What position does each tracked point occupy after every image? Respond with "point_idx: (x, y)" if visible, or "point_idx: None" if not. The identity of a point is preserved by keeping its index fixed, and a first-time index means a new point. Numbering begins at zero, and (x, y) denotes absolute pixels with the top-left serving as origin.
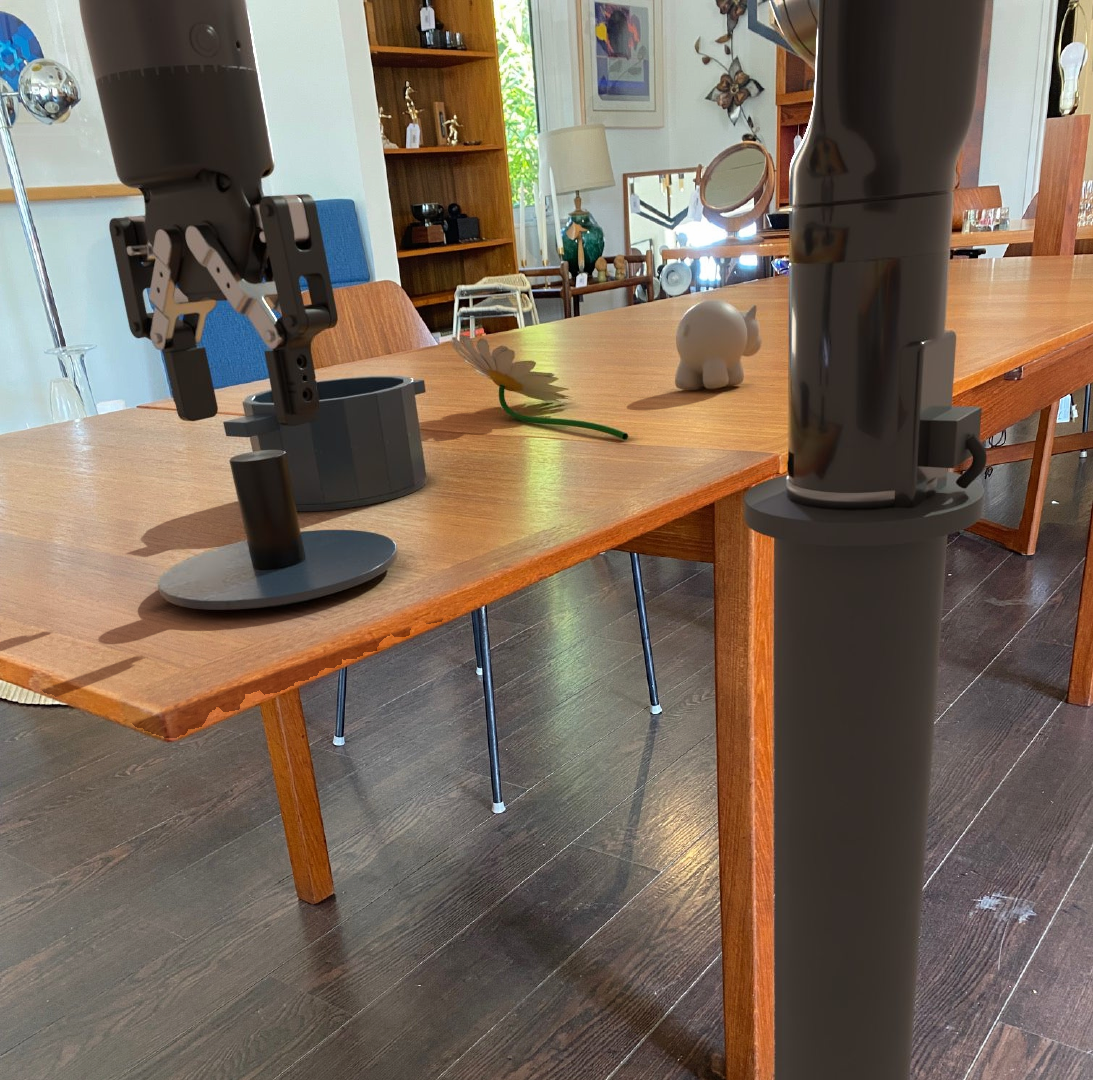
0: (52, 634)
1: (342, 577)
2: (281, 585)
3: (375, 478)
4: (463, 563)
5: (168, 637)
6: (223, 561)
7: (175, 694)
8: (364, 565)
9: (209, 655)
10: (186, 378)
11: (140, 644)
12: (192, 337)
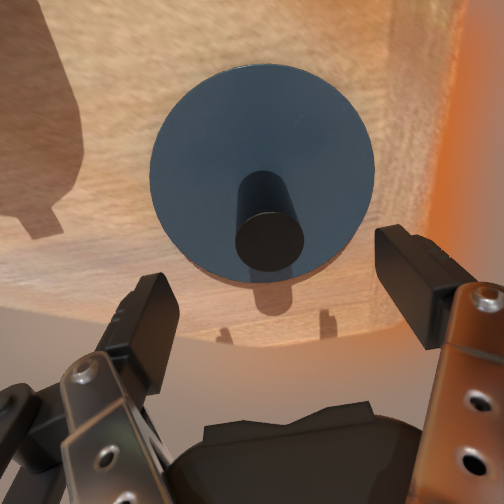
0: (230, 328)
1: (364, 183)
2: (329, 225)
3: None
4: (394, 29)
5: (306, 290)
6: (211, 224)
7: (396, 315)
8: (354, 150)
9: (362, 287)
10: (164, 344)
11: (302, 304)
12: (125, 377)
